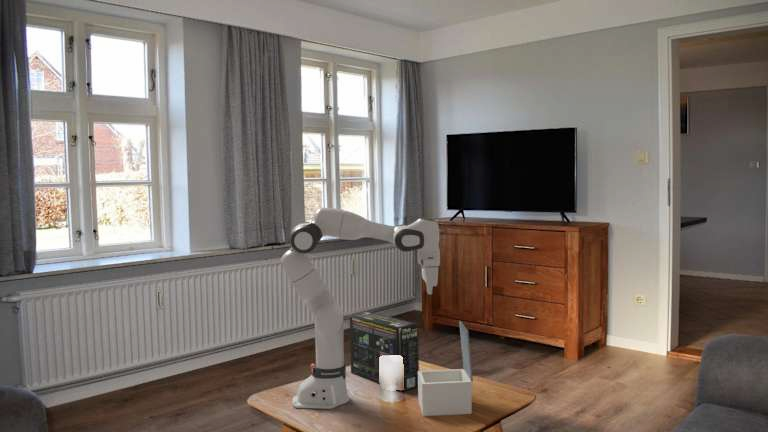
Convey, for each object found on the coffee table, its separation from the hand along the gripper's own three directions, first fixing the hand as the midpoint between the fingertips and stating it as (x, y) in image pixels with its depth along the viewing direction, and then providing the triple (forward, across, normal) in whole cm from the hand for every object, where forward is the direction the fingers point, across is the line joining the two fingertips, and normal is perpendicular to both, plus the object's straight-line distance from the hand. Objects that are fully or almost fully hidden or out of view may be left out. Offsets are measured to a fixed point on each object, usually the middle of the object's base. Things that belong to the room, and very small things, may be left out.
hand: (429, 293), depth 245 cm
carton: (+41, +13, +3) cm, 43 cm away
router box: (+41, -22, -18) cm, 50 cm away
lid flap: (+20, +13, +11) cm, 26 cm away
